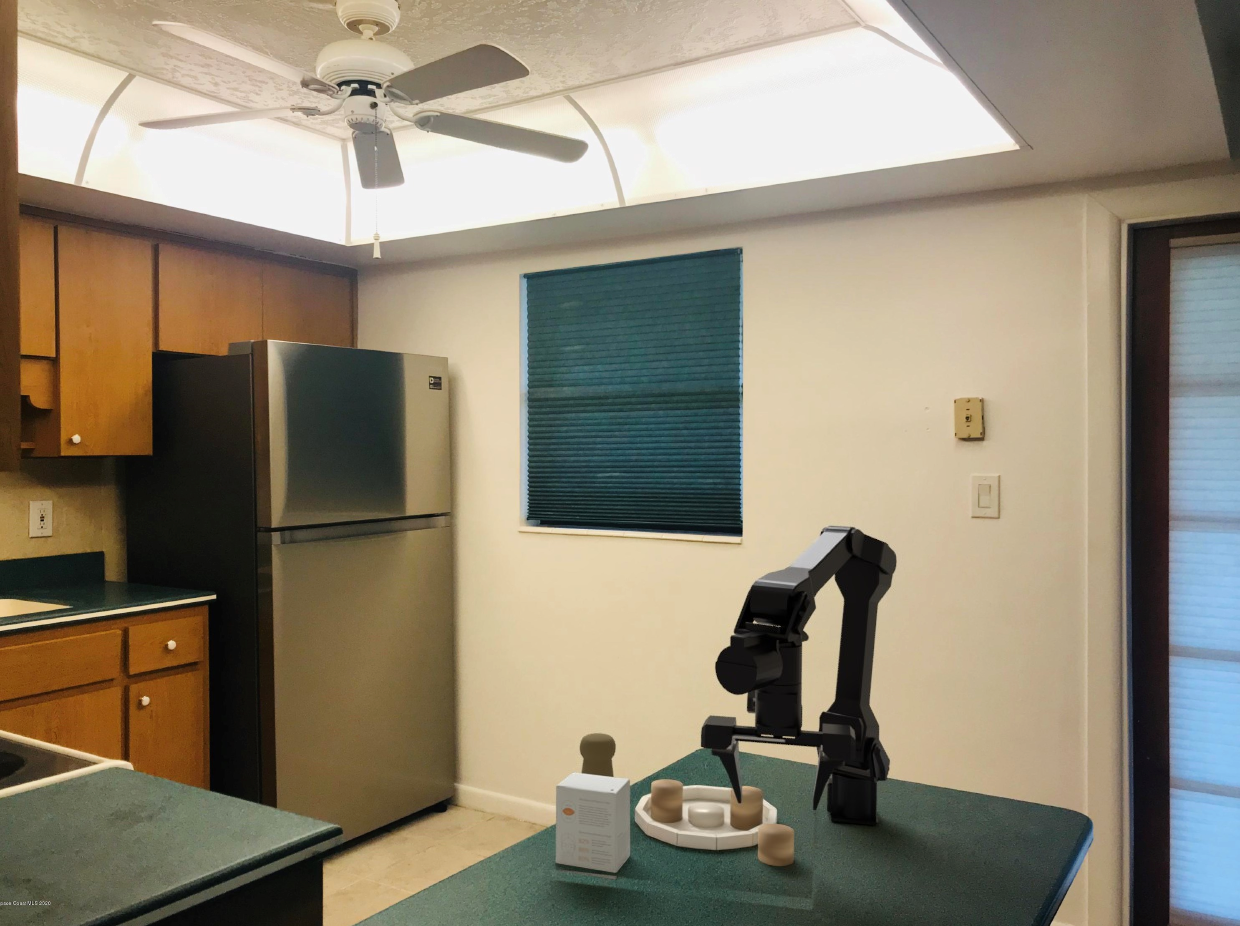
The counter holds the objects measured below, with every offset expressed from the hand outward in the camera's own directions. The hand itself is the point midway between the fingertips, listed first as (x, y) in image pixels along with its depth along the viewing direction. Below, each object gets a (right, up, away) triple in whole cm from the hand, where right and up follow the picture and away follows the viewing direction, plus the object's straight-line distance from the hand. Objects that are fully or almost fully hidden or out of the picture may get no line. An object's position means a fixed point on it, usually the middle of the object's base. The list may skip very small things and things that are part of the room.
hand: (776, 805), depth 114 cm
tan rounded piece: (-2, -7, +11) cm, 13 cm away
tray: (-8, -8, +12) cm, 16 cm away
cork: (-23, -8, +17) cm, 30 cm away
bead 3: (0, -8, 0) cm, 8 cm away
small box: (-23, -7, -1) cm, 24 cm away
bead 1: (-13, -6, +13) cm, 20 cm away
